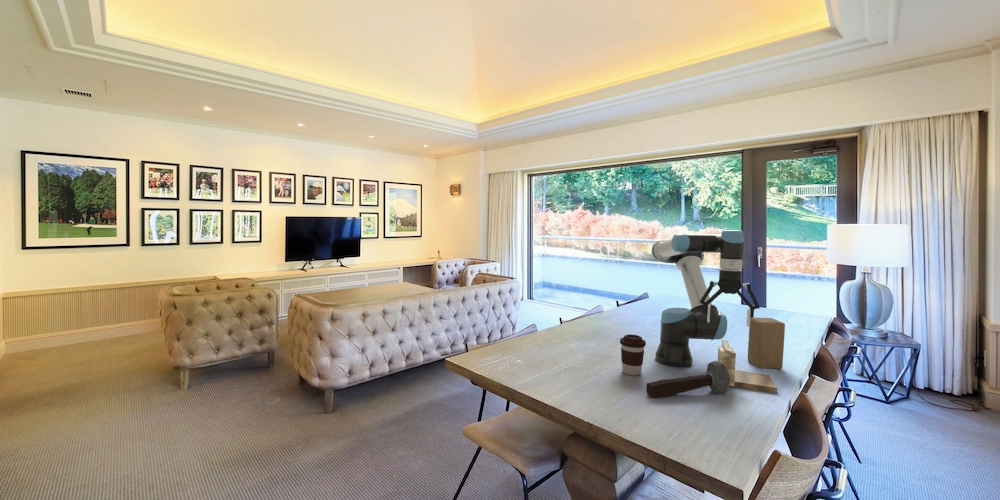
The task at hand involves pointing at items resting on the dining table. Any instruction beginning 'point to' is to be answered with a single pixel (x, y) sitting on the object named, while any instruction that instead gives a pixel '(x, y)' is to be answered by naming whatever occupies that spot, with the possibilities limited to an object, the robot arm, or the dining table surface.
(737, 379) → the board
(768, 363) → the wooden block
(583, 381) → the dining table surface
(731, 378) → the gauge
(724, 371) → the hammer
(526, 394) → the dining table surface
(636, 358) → the coffee cup
